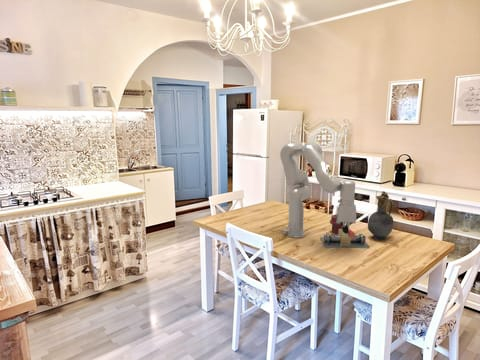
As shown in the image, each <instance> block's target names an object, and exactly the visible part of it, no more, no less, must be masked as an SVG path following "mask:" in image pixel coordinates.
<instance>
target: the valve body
mask: <svg viewBox="0 0 480 360" xmlns="http://www.w3.org/2000/svg"><path fill="white" fill-rule="evenodd" d="M320 240H321V242H322V245H323V247H324V248H334V249H335V248H340V249H342V248H343V249H345V248H347V249H349V248H350V249H370V247H371V246H370V245H369V244H368V243H367V242H366V240H367V239H366V235H364V234H363V233H359V234H358V235H356V234H355V238H350V237H349V235H348V234H345V233H344V232H343V231H342V229H339V231H338V234H330V233H329V232H326V233H325V234H323V236H320Z"/></svg>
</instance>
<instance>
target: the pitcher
mask: <svg viewBox="0 0 480 360" xmlns="http://www.w3.org/2000/svg"><path fill="white" fill-rule="evenodd" d="M375 198H376V200H377V205H376V206H377V211H374V212H373V213H372V214H371V215H370V216H369V218H368V220H367V229H368V230H367V231H368V232H370V233H371V234H372V235H373V236H372V237H373V239H375V240H378V241H384V240H386V238H387V237H388V236H389V235H390V234H391V233H392V231H393V228H394V218H393V216H392V215H391V213H392V210H393V208H394V207H393V205H394V202H393V200H392V198H390V196H389V195H388V193H387V192H386V191H385V190H384V191H381V193H380V195H376V196H375ZM388 202H390V207H389V212H387V207H388Z"/></svg>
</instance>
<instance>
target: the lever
mask: <svg viewBox="0 0 480 360" xmlns="http://www.w3.org/2000/svg"><path fill="white" fill-rule="evenodd" d="M342 229H343V226H342ZM347 234H348V235H349V237H350V238H355V235H356V233H355V232H354V231H353V230H352V229H351V228H349V230H348V233H347Z"/></svg>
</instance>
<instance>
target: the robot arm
mask: <svg viewBox="0 0 480 360" xmlns="http://www.w3.org/2000/svg"><path fill="white" fill-rule="evenodd" d="M322 153H323V149H322V147H321V145H320V144H318V143H311V142H303V141H297V142H290V143H286V144H284V145H283V146H282V147H281V150H280V153H279V155H280V156H279V157H280V160H281V163H282V168H283V172H284V177H285V180H286V183H287V185H289V186H291V187H292V186H295V187H293V188H291V189H290V190H288V192H287V200H288V226H287V227H285V228H284V227H281V228H280V229H281V232H283V233H285V235H286V236H287V237H289V238H295V239H299V238H304V237H305V236H306V232H305V231H304V213H305V211H304V210H305V207H304V204H303V201H306V200H307V199H309V198H310V197H311V195H312V191H311V190H312V189H311V185H310V180H309V177H308V176H309V175H308V174H307V173H306V171H305V170H303V169H300V168H298V166H297V162H296V160H295V159H294V157H295V156H296V157H298V156H303V157H304V158H305V160H306V162H308V164H309V165H310V166H311V168H312V169H313V170H314V173H315V174H314V175H315V177H316V180H317V183H319V185H320V186H321V188H322V189H323V191H325V192H326V193H328V194H334V193H337V192H340V198H339V199H338V200H337V203H339V204H338V205H337V206H338V207H337V211H336V214H337V221H336V222H337V223H339V224H341V225H342V226H343V229H342V231H343V232H344V233H345V234H347V233H348V230H349V229H350V226H352V224H356V223H357V207H356V206H357V205H356V204H355V194H356V193H355V192H356V182H355V181H354V180H351V179H350V180H348V179H347V180H346V179H343V178H339V177H337V178H333V179H332V178H331V177H330V176H329V174H328V173H327V170H326V169H327V164H328V163H327V160H326V159H325V158H324V156H322ZM345 222H346V224H345Z"/></svg>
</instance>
